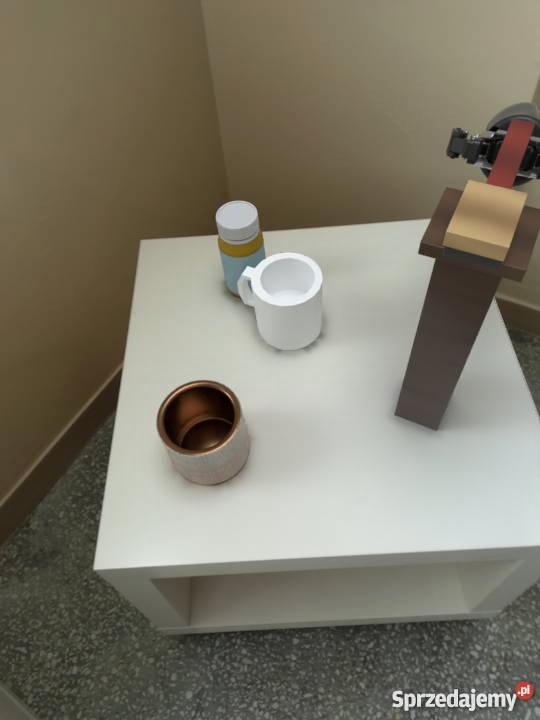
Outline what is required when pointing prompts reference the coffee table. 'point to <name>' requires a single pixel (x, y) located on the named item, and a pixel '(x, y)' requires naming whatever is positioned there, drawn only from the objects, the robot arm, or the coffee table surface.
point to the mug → (285, 299)
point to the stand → (454, 312)
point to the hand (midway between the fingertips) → (508, 159)
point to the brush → (490, 206)
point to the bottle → (239, 241)
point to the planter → (204, 431)
